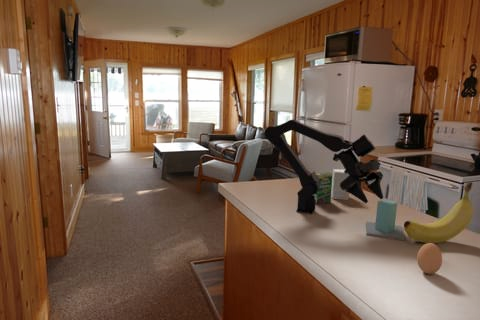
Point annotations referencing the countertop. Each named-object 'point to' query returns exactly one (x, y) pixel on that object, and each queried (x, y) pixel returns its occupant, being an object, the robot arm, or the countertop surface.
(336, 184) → the supplement box
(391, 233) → the slate mat
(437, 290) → the countertop surface
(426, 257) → the egg
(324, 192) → the coffee box
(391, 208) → the teal block
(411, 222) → the banana
